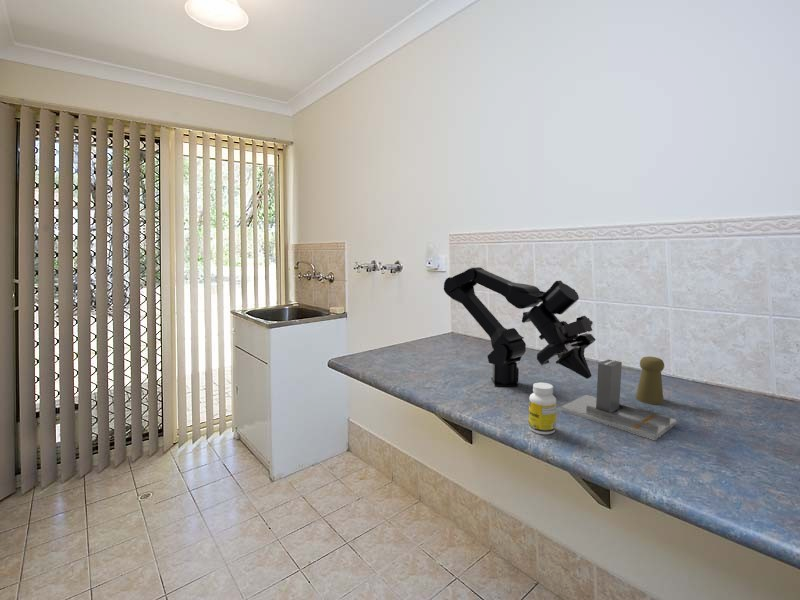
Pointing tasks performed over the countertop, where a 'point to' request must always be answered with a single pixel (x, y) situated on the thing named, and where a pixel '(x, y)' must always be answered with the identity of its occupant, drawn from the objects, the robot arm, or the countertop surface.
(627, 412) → the plate
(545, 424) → the supplement bottle
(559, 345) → the robot arm
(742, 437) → the countertop surface
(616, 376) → the fader tab
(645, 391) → the cork
